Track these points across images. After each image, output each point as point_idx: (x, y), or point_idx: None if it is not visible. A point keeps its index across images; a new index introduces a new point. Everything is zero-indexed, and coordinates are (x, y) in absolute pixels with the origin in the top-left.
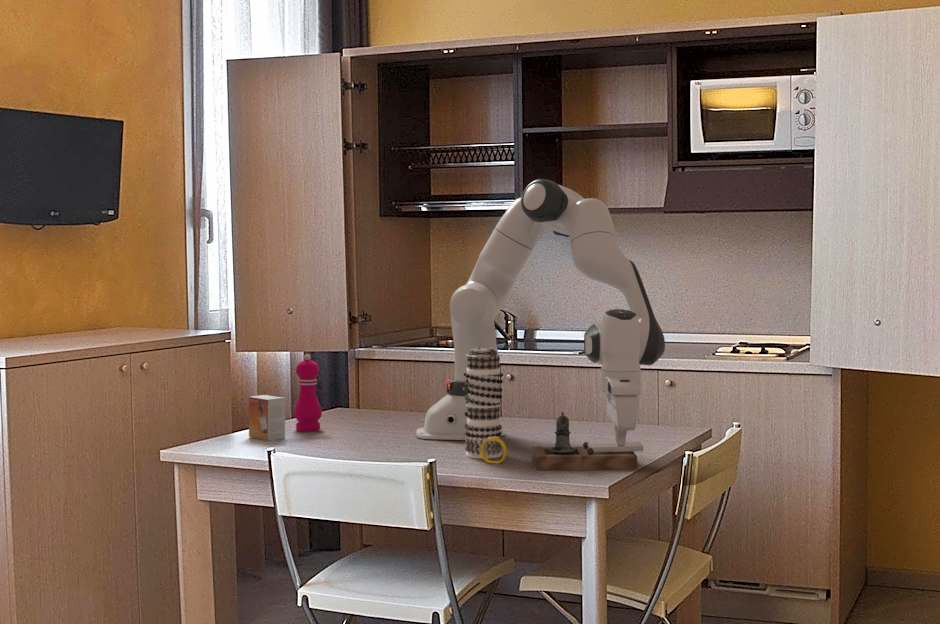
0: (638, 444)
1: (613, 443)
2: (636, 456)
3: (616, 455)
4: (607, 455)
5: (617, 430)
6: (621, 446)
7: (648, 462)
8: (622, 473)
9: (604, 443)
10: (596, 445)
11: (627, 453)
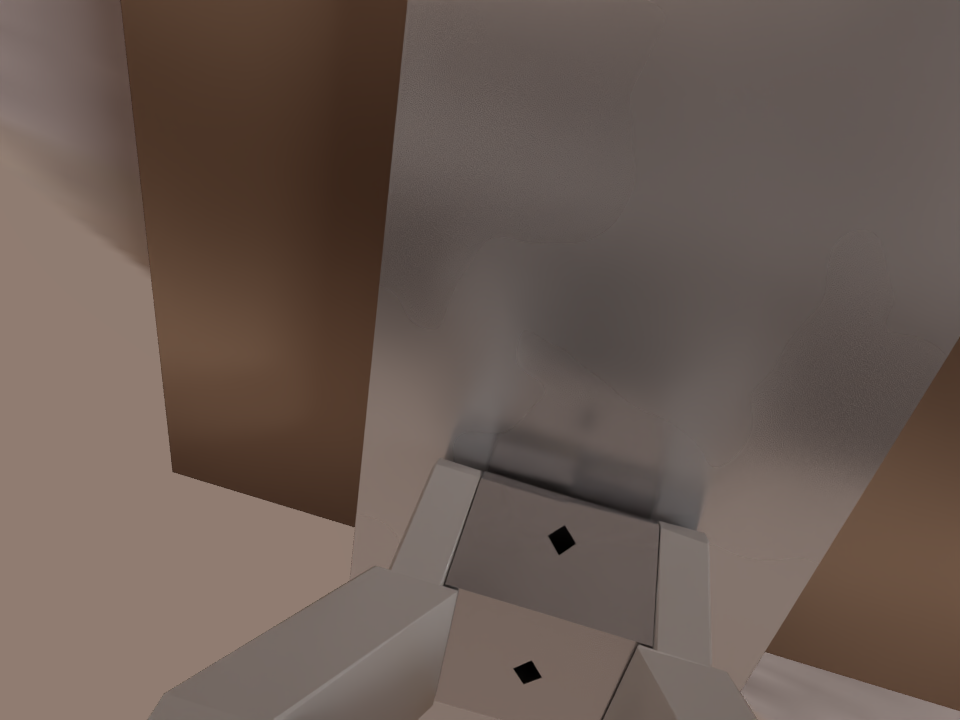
0: (469, 712)
1: (754, 484)
2: (177, 463)
3: (207, 233)
4: (201, 68)
5: (191, 707)
6: (370, 464)
7: None
8: (44, 123)
9: (880, 325)
10: (706, 5)
11: None
